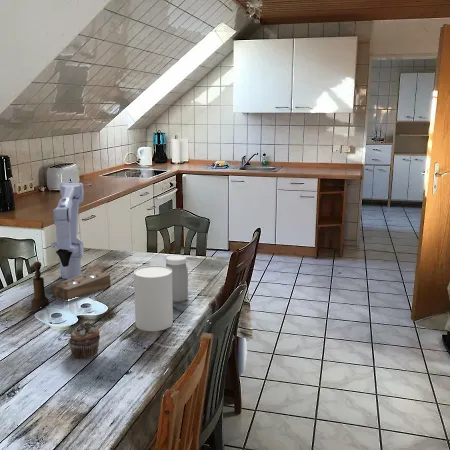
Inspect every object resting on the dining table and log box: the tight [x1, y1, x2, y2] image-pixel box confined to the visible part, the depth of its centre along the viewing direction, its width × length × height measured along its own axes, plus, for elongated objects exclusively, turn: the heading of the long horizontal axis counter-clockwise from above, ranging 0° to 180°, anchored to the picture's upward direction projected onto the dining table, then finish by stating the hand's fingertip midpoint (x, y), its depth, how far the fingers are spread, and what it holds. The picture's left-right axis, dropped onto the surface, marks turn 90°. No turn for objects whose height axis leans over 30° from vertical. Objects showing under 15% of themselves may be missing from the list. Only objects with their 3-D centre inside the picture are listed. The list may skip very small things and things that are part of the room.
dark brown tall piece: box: [30, 261, 50, 309], centre depth 195 cm, size 7×6×18 cm
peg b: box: [86, 275, 96, 279], centre depth 216 cm, size 4×4×5 cm
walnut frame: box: [51, 270, 112, 301], centre depth 212 cm, size 10×23×5 cm, turn 147°
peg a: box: [67, 281, 78, 286], centre depth 208 cm, size 4×4×5 cm
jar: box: [165, 254, 189, 304], centre depth 203 cm, size 10×10×18 cm
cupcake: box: [68, 321, 101, 360], centre depth 158 cm, size 10×10×10 cm
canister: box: [133, 264, 174, 332], centre depth 180 cm, size 14×14×20 cm
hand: (65, 266), depth 212 cm, fingers closed
